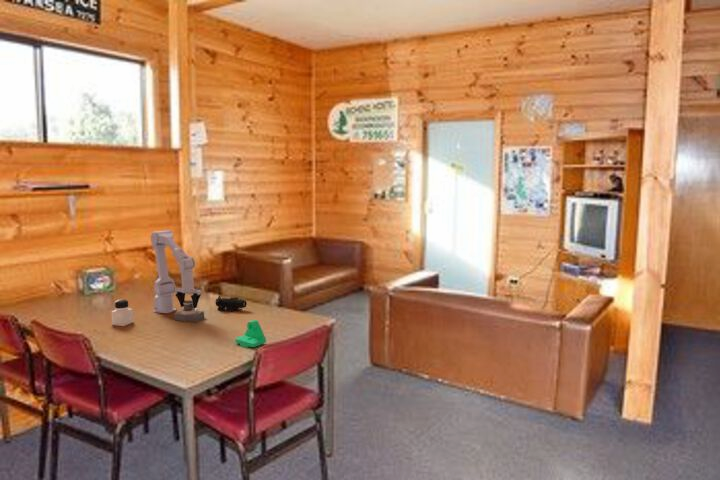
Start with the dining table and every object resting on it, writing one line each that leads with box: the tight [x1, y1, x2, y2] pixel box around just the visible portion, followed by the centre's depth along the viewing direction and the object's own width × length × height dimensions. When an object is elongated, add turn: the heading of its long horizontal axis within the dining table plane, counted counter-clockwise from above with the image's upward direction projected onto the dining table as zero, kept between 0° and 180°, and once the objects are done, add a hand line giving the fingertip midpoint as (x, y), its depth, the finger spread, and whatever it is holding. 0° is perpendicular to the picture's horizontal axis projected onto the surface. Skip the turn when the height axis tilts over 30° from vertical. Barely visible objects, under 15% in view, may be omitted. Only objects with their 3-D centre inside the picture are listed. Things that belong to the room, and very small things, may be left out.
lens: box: [183, 299, 193, 311], centre depth 265 cm, size 4×4×6 cm
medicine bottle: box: [111, 299, 134, 327], centre depth 258 cm, size 7×7×12 cm
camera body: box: [174, 307, 205, 323], centre depth 266 cm, size 12×8×5 cm, turn 71°
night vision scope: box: [215, 295, 248, 312], centre depth 281 cm, size 8×18×10 cm
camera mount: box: [234, 319, 267, 349], centre depth 228 cm, size 12×8×10 cm, turn 55°
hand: (188, 307), depth 265 cm, fingers open, 7 cm apart
